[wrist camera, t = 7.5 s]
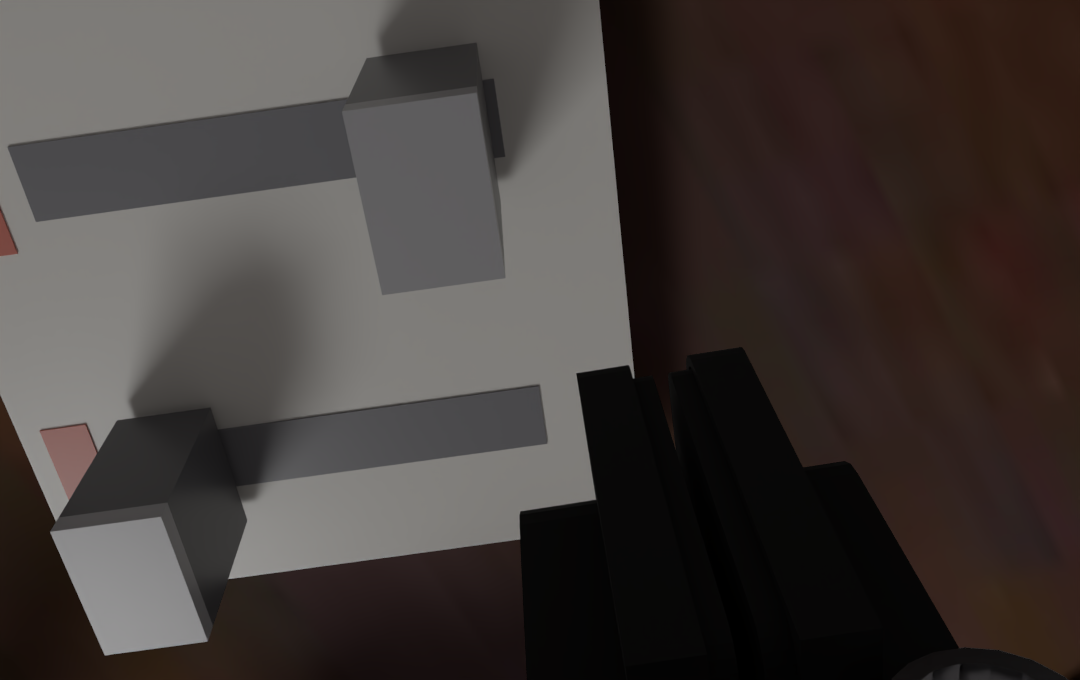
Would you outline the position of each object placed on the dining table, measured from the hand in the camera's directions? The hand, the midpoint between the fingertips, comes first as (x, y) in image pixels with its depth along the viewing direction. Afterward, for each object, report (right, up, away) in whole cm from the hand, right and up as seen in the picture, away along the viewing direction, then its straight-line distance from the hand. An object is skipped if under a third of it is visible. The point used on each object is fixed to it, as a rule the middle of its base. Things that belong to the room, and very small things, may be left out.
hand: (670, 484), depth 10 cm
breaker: (-11, -2, +16) cm, 19 cm away
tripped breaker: (-4, +6, +12) cm, 14 cm away
